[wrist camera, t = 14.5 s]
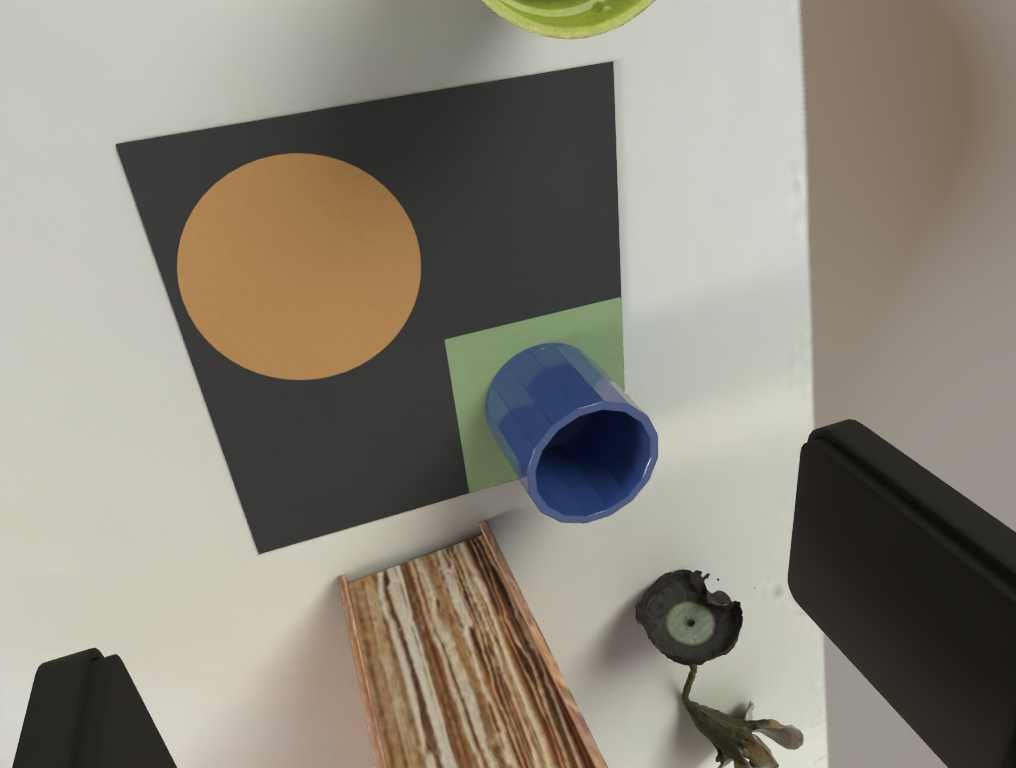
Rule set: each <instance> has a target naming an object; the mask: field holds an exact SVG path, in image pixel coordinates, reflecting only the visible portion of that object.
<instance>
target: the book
mask: <svg viewBox="0 0 1016 768" xmlns="http://www.w3.org/2000/svg"><path fill="white" fill-rule="evenodd" d="M479 523H480V527H481V531H482V535H480V536H477V537H475V538H472V539H469V540H466V541H464V542H461V543H458V544H455V545H452V546H450V547H447V548H444V549H441V550H438V551H436V552H433V553H430V554H427V555H424V556H422V557H419V558H416V559H413V560H411V561H408V562H405V563H402V564H399V565H397V566H394V567H391V568H388V569H385V570H383V571H380V572H377V573H374V574H372V575H369V576H366V577H363V578H360V579H358V580H355V581H352V582H349V583H348V581H347V578H346V575H345V574H343V575H340V576H338V577H337V579H338V584H339V589H340V594H341V599H342V604H343V609H344V613H345V618H346V623H347V628H348V633H349V638H350V643H351V648H352V653H353V657H354V662H355V667H356V672H357V677H358V682H359V687H360V692H361V697H362V701H363V706H364V711H365V716H366V721H367V726H368V731H369V736H370V741H371V746H372V750H373V755H374V760H375V765H376V768H608V767H607V765H606V763H605V761H604V759H603V757H602V755H601V752H600V750H599V748H598V746H597V744H596V742H595V740H594V738H593V736H592V734H591V732H590V730H589V728H588V726H587V724H586V722H585V720H584V718H583V716H582V714H581V712H580V710H579V708H578V706H577V704H576V702H575V700H574V698H573V696H572V694H571V692H570V690H569V688H568V686H567V684H566V682H565V680H564V678H563V676H562V674H561V672H560V669H559V667H558V665H557V663H556V661H555V659H554V657H553V655H552V653H551V651H550V649H549V647H548V645H547V643H546V641H545V639H544V637H543V635H542V633H541V631H540V629H539V627H538V625H537V623H536V621H535V619H534V617H533V615H532V613H531V611H530V609H529V607H528V605H527V603H526V601H525V599H524V597H523V595H522V593H521V591H520V589H519V586H518V584H517V582H516V580H515V578H514V576H513V574H512V572H511V570H510V568H509V566H508V564H507V562H506V560H505V558H504V556H503V554H502V552H501V550H500V548H499V546H498V544H497V542H496V540H495V538H494V536H493V534H492V532H491V530H490V528H489V526H488V524H487V522H486V520H485V521H482V522H479Z"/></svg>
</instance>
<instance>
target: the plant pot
mask: <svg viewBox="0 0 1016 768" xmlns="http://www.w3.org/2000/svg"><path fill="white" fill-rule="evenodd" d="M481 1H482V2H483V3H485V4H486V5H487V6H488V7H489V8H490V9H491V10H492V11H494V12H495V13H496V14H497V15H499V16H500V17H502V18H503V19H505V20H506V21H508V22H509V23H511V24H513V25H515V26H517V27H519V28H521V29H524V30H526V31H529V32H531V33H534V34H538V35H542V36H546V37H551V38H560V39H578V38H587V37H592V36H596V35H600V34H603V33H606V32H608V31H611V30H613V29H616V28H618V27H620V26H622V25H624V24H625V23H627V22H628V21H630V20H631V19H633V18H634V17H636V16H637V15H639V14H640V13H641V12H642V11H644V10H645V9H646V8H647V7H648V6H650V5H651V4H652V3H653V2H654V1H655V0H481Z"/></svg>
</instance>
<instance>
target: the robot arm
mask: <svg viewBox="0 0 1016 768" xmlns="http://www.w3.org/2000/svg"><path fill="white" fill-rule="evenodd" d="M788 585H789V589H790V591H791V594H792V596H793V598H794V599H795V601H796V602H797V603H798V605H799V606H800V607H801V608H802V609H803V610H804V611H805V612H806V613H807V614H808V616H809V617H810V618H811V619H812V620H813V621H814V622H815V623H816V624H817V625H818V626H819V628H820V629H821V630H822V631H823V632H824V633H825V634H826V635H827V636H828V637H829V638H830V639H831V641H832V642H833V643H834V644H835V645H836V646H837V647H838V648H839V649H840V650H841V651H842V653H843V654H844V655H845V656H846V657H847V658H848V659H849V660H850V661H851V662H852V663H853V665H854V666H856V668H857V669H858V670H859V671H860V672H861V673H862V674H863V675H864V677H865V678H866V679H867V680H868V681H869V682H870V683H871V684H872V685H873V686H874V687H875V688H876V690H877V691H878V692H879V693H880V694H881V695H882V696H883V697H884V698H885V699H886V700H887V701H888V703H889V704H890V705H891V706H892V707H893V708H894V709H895V710H896V711H897V712H898V714H899V715H901V716H902V718H903V719H904V720H905V721H906V722H907V723H908V724H909V725H910V726H911V728H912V729H913V730H914V731H915V732H916V733H917V734H918V735H919V736H920V737H921V739H922V740H923V741H924V742H925V743H926V744H927V745H928V746H929V747H930V748H931V749H932V751H933V752H934V753H935V754H936V755H937V756H938V757H939V758H940V759H941V760H942V761H943V763H944V764H945V765H946V766H947V767H948V768H1016V532H1014V531H1013V530H1012V529H1010V528H1009V527H1007V526H1006V525H1005V524H1003V523H1002V522H1000V521H999V520H997V519H996V518H995V517H993V516H992V515H990V514H989V513H988V512H986V511H985V510H983V509H982V508H980V507H979V506H978V505H976V504H975V503H973V502H972V501H971V500H969V499H968V498H966V497H965V496H963V495H962V494H961V493H959V492H958V491H956V490H955V489H953V488H952V487H951V486H949V485H948V484H946V483H945V482H944V481H942V480H941V479H939V478H938V477H936V476H935V475H934V474H932V473H931V472H929V471H928V470H927V469H925V468H924V467H922V466H921V465H919V464H918V463H917V462H915V461H913V460H912V459H911V458H909V457H908V456H907V455H905V454H904V453H902V452H901V451H900V450H898V449H896V448H895V447H894V446H892V445H891V444H890V443H888V442H887V441H885V440H884V439H882V438H881V437H880V436H878V435H877V434H875V433H874V432H873V431H871V430H870V429H868V428H867V427H866V426H864V425H863V424H861V423H859V422H857V421H856V420H850V419H848V420H844V421H841V422H838V423H835V424H831V425H828V426H825V427H822V428H818V429H815V430H813V431H812V432H811V434H810V435H809V438H808V442H807V443H805V444H804V445H803V446H802V448H801V453H800V463H799V472H798V482H797V492H796V501H795V511H794V521H793V531H792V540H791V550H790V560H789V570H788ZM12 768H177V766H176V764H175V763H174V761H173V759H172V757H171V755H170V753H169V751H168V749H167V747H166V745H165V743H164V741H163V739H162V737H161V735H160V733H159V731H158V729H157V728H156V726H155V724H154V722H153V720H152V718H151V716H150V714H149V712H148V710H147V708H146V706H145V704H144V702H143V700H142V698H141V696H140V694H139V692H138V691H137V689H136V687H135V685H134V683H133V681H132V679H131V677H130V675H129V673H128V671H127V669H126V667H125V665H124V663H123V661H122V660H121V658H120V657H119V656H118V655H117V654H115V655H111V656H108V657H104V656H103V655H102V653H101V652H100V651H99V650H98V649H96V648H91V649H88V650H84V651H81V652H78V653H74V654H71V655H68V656H65V657H61V658H58V659H55V660H51V661H48V662H45V663H42V664H41V665H40V666H39V667H38V669H37V672H36V675H35V678H34V682H33V686H32V691H31V695H30V699H29V703H28V707H27V711H26V715H25V719H24V723H23V727H22V731H21V735H20V739H19V743H18V747H17V751H16V755H15V759H14V763H13V767H12Z"/></svg>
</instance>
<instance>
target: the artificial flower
mask: <svg viewBox="0 0 1016 768" xmlns="http://www.w3.org/2000/svg"><path fill="white" fill-rule="evenodd" d="M701 574H702V572H701V571H697V570H696V571H695V572H691V571H690V570H678V571H674V573H673V572H672V573H671V572H670V573H666V574H664V575H663V576H662V577H660V579H659V580H658V582H657V583H656V585H654V586H652V587H651V588H650V589H649V590H647V592H646V593H645V595H644V596H643V598H642V600H641V602H637V604H636V606H635V608H636V616H635V617H636V621H637V623H640V624H642V625H643V626H644V628H645V631H646V633H647V635H648V637H649V638H648V639H650V640H651V642H652V643H653V645H655V646H656V647H657V648H658V649H659V650H660V652H661V653H662V654H665V655H666V657H667V658H669V659H671V660H673V661H674V662H677V663H680V664H683V665H688V666H689V665H690V666H689V667H690V669H691V671H690V673H689V675H688V678H687V681H686V684H685V685H684V689H683V693H682V698H683V699H682V700H683V704H684V705H685V707H686V709H687V710H688V712H689V714H690V716H691V718H692V720H693V721H694V724H695V726H696V727H697V729H698V730H699V731H700V732H701V733H702V734H704V735H705V736H706V737H707V738H708V739H709V740H710V741H711V742H712V743H713V745H714V746H715V748H716V749H717V752H718V755H717V757H716V762H719V761H720V763H721V764H720V766H719V767H718V768H723V767H724V766H726V765H728V764H729V763H730V762H731V761H733V760H734V767H735V768H751V767H752V768H778V767H779V764H778V763H777V761H776V760H775V758H774V757H773V755H772V753H771V751H770V749H769V748H768V747H767V746H766V745H765V744H764V743H763V742H762V740H761V739H760V738H759V737H758V736H756V735H754V734H752V732H761V733H763V734H764V735H766V736H767V737H769V738H771V739H772V740H774V741H775V742H776V743H778V744H779V745H781V746H783V747H784V748H786V749H793V750H795V749H798V748H799V747H800V746H801V745H803V742H804V738H803V734H802V733H801V731H800V730H799V729H797V728H795V727H794V726H793V725H788V726H784V725H782V724H780V723H779V722H777V721H775V720H772V719H768V720H767V719H762V720H757V721H755V720H752V718H753V717H752V712H751V711H752V710H753V709H754V704H753V703H752V702H751V701H750V703H749V706H748V709H747V712H746V715H745V719H744V720H741V719H737V718H733V717H731V716H729V715H726V714H724V713H721V712H720V711H719V710H714V709H712V708H708V706H704V705H699V704H698V703H696V702H693V701H690V700H689V698H688V696H689V693H690V689H691V685H692V683H693V681H694V678H695V674H696V673H697V665H702V664H703V663H705V662H706V661H709V660H711V659H715V658H716V657H719V656H721V655H727V653H729V652H730V651H731V650H732V649H733V648H734V646H735V643H736V642H737V640H738V636H739V632H740V629H741V627H742V623H743V622H742V621H743V616H741V615H742V609H741V607H740V605H741V604H740V602H737V601H734V602H732V601H731V600H730V597H729V596H728V595H727V594H726V593H725V592H723V591H717V592H715V593H713V594H712V593H710V592H709V591H708V590H707V589H706V586H705V583H704V580H705V579H706V578H708V576H709V575H710V574H709V573H708V574H706V575H705V576H704V577H703V578H702V577H701ZM717 580H718V581H719V579H718V578H717ZM754 589H755V588H754ZM728 603H729V604H728ZM725 604H727V605H725ZM723 605H724V606H723ZM741 753H742V754H743V755H742V754H741ZM745 758H747V759H749V760H750V761H749V763H748V761H747V760H746V759H745Z"/></svg>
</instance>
